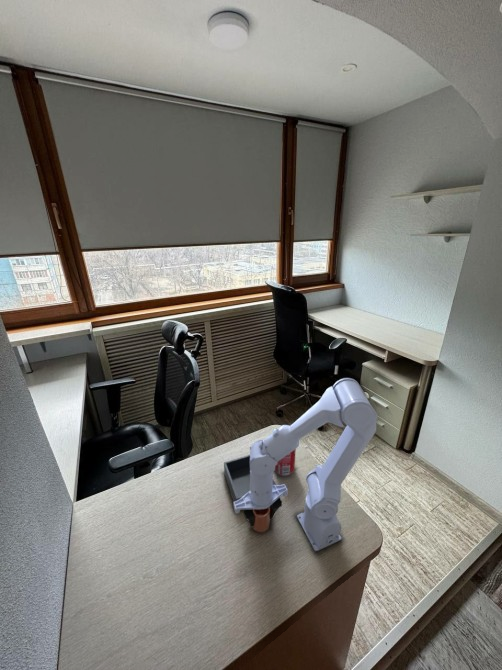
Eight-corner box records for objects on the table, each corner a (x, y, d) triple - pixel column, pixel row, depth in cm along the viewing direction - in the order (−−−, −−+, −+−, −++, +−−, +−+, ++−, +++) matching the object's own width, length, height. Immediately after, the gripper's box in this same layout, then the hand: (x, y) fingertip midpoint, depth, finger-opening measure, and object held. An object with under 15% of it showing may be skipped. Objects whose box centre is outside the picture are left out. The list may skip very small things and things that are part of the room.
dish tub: (275, 496, 80) (276, 484, 79) (236, 510, 76) (236, 498, 75) (258, 462, 92) (259, 451, 90) (224, 473, 88) (223, 462, 86)
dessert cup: (272, 528, 72) (273, 513, 70) (255, 535, 71) (255, 520, 68) (265, 511, 76) (265, 496, 74) (248, 517, 75) (248, 502, 73)
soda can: (297, 474, 88) (300, 444, 83) (277, 479, 86) (278, 448, 81) (289, 457, 94) (291, 428, 89) (269, 462, 92) (270, 432, 87)
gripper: (280, 463, 74) (278, 497, 79) (229, 479, 69) (230, 514, 74) (292, 484, 67) (289, 520, 73) (237, 504, 63) (239, 541, 68)
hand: (260, 519), depth 73 cm, fingers closed on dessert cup, 5 cm apart
